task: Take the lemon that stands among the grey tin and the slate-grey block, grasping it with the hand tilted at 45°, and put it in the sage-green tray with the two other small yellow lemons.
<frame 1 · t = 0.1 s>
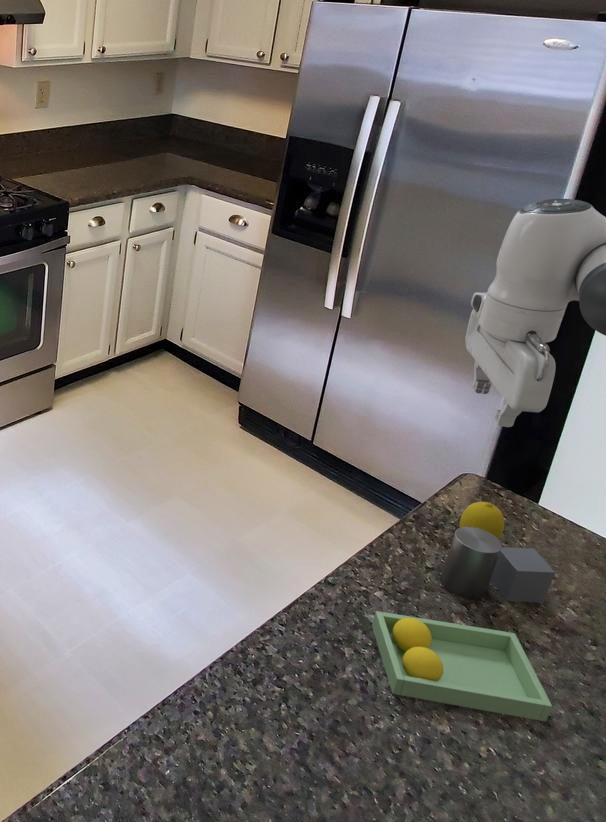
hand: (490, 407, 113), 25 cm above the countertop, tool pointing down, fingers open, 8 cm apart
lemon: (474, 546, 123), on the countertop
grey tin: (461, 588, 115), on the countertop
tray: (451, 673, 101), on the countertop
small lemon b: (407, 648, 104), point 1 cm above the countertop, touching tray
grey block: (513, 592, 114), on the countertop
small lemon a: (418, 678, 100), point 1 cm above the countertop, touching tray
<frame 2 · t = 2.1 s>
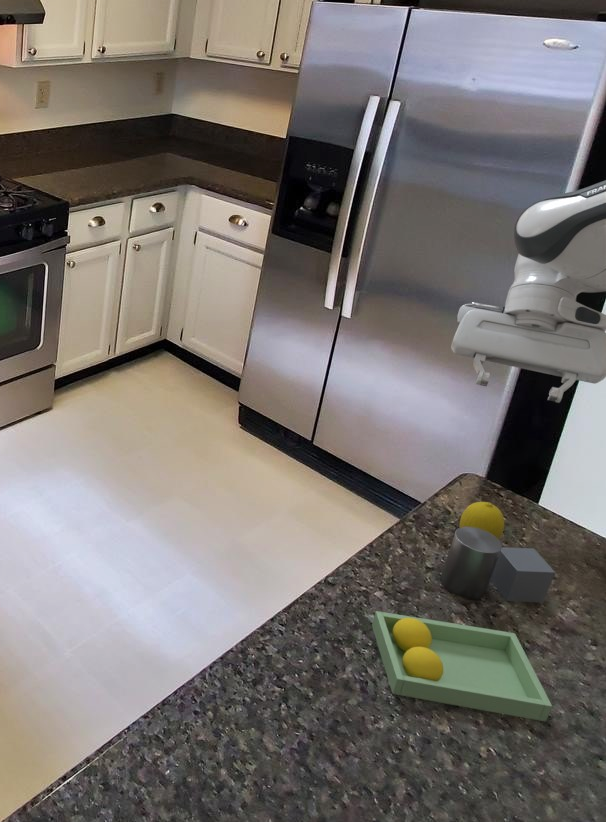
hand: (517, 392, 123), 21 cm above the countertop, tool tilted 45°, fingers open, 8 cm apart
nothing on the countertop moved.
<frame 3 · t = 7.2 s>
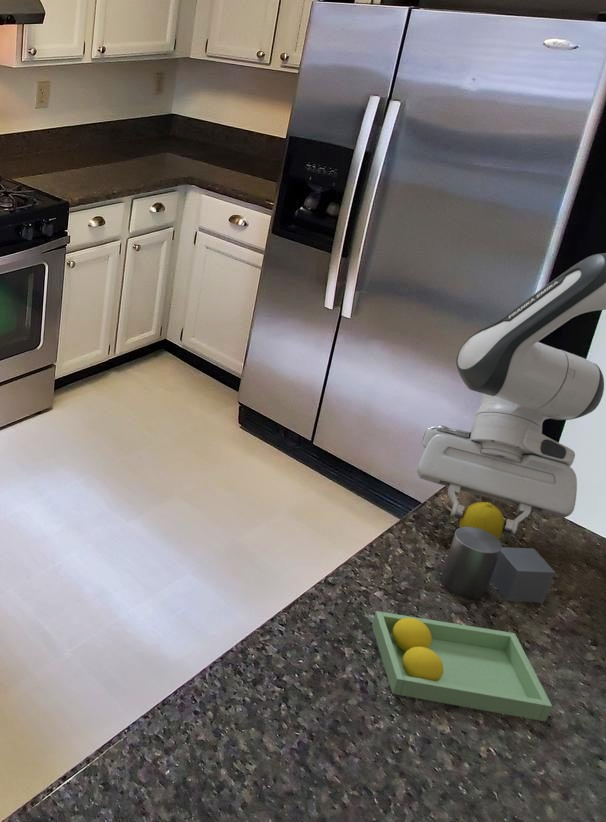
hand: (482, 524, 121), 4 cm above the countertop, tool tilted 45°, fingers closed on lemon, 5 cm apart
lemon: (474, 546, 123), on the countertop, touching gripper
everything else where it was.
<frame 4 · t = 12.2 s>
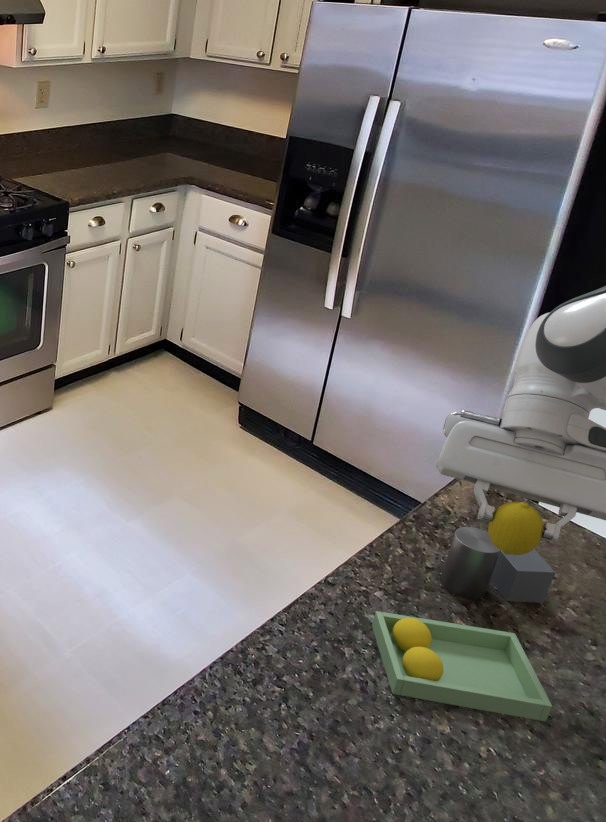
hand: (516, 529, 100), 17 cm above the countertop, tool tilted 45°, fingers closed on lemon, 5 cm apart
lemon: (505, 554, 103), point 13 cm above the countertop, touching gripper
everything else where it was.
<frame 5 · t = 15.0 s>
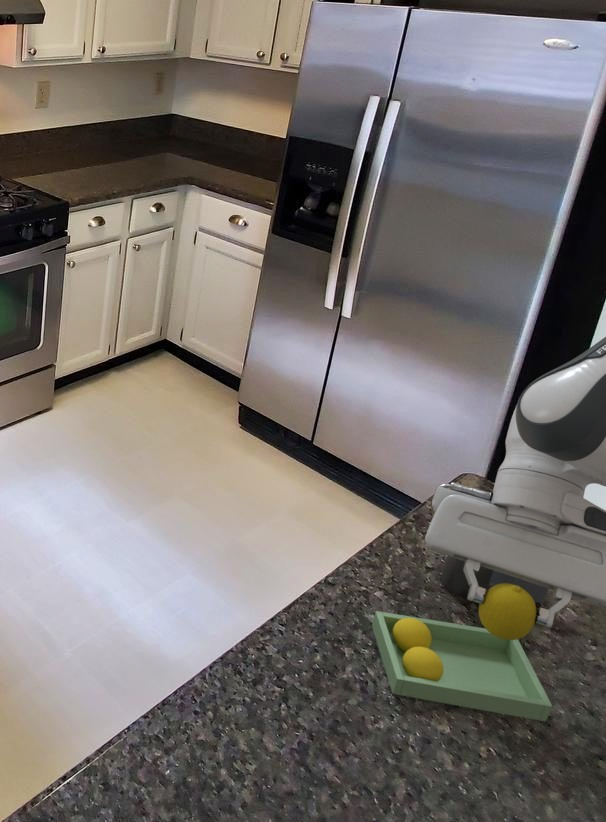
hand: (508, 613, 95), 11 cm above the countertop, tool tilted 45°, fingers closed on lemon, 5 cm apart
lemon: (496, 637, 98), point 7 cm above the countertop, touching gripper
everything else where it was.
when the fingers open (5 cm above the countertop, at t = 17.3 s): lemon stays where it is, resting on tray.
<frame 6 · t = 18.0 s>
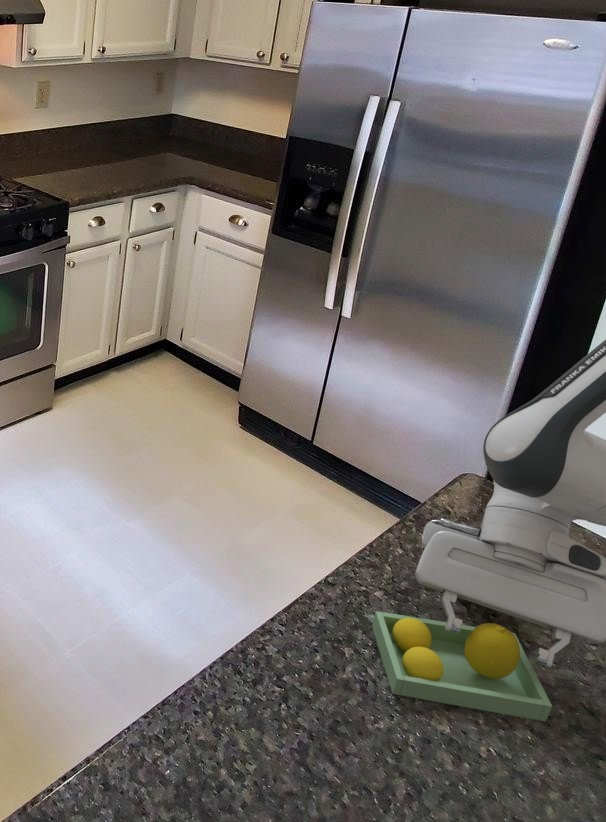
hand: (496, 648, 98), 6 cm above the countertop, tool tilted 45°, fingers open, 8 cm apart
lemon: (482, 675, 100), resting on tray
everything else where it was.
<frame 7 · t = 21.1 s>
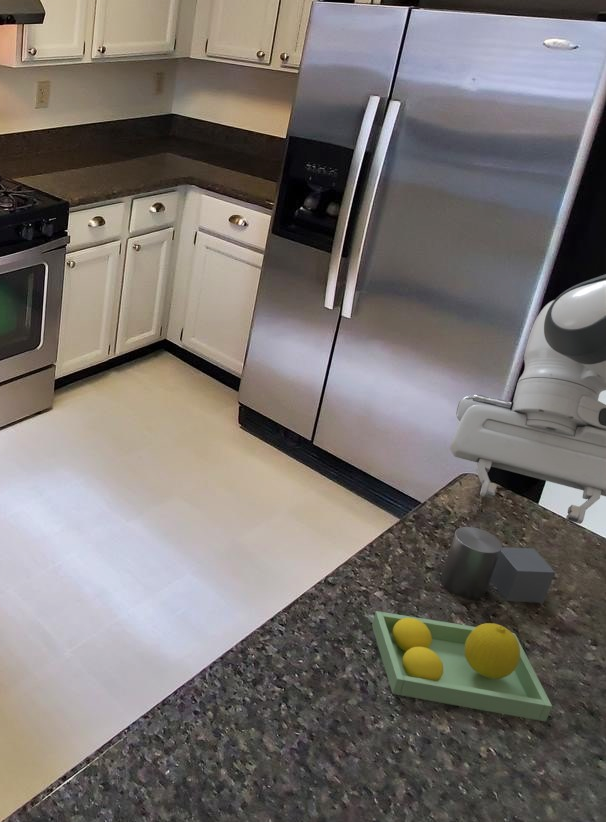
hand: (529, 508, 103), 18 cm above the countertop, tool tilted 45°, fingers open, 8 cm apart
nothing on the countertop moved.
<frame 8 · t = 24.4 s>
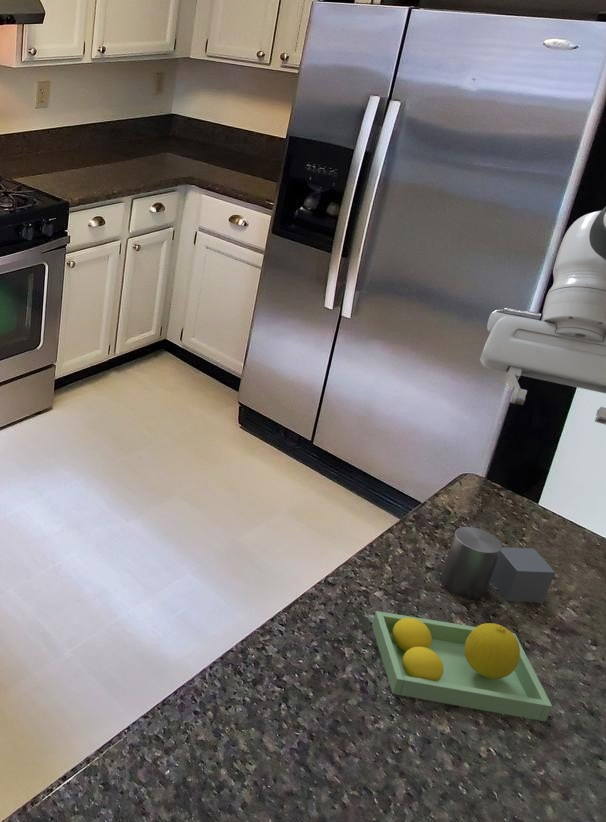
hand: (558, 412, 106), 27 cm above the countertop, tool tilted 45°, fingers open, 8 cm apart
nothing on the countertop moved.
at the end: lemon inside the target area in the tray (3.4 cm from its centre), point 0.4 cm above the tray's base; lemon 8.4 cm from the small lemon a (horizontally); the gripper is holding nothing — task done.
